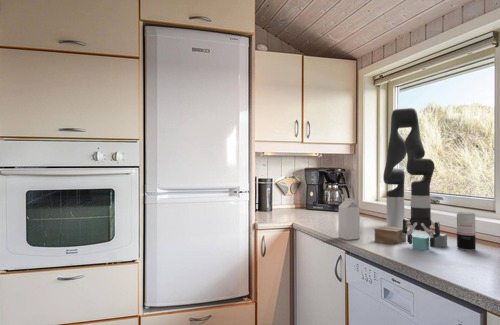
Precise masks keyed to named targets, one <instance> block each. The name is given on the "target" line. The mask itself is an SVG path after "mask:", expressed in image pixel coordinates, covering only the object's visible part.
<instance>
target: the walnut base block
mask: <svg viewBox="0 0 500 325" xmlns="http://www.w3.org/2000/svg"><path fill="white" fill-rule="evenodd" d="M374 242H379V243H384V244H390V245H395V246H396V245H399V244H402V243H406V242H407V234H406V233H403V228H397V227H389V226H387V225H384V226H380V227H379V226H378V227H376V228H374Z"/></svg>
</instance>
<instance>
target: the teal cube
mask: <svg viewBox="0 0 500 325" xmlns="http://www.w3.org/2000/svg"><path fill="white" fill-rule="evenodd" d="M412 249H413V250H417V251H419V250H420V251H425V252H426V251H428V250H429V249H430V236H425V235H414V236H412Z"/></svg>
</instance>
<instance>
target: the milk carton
mask: <svg viewBox="0 0 500 325" xmlns="http://www.w3.org/2000/svg"><path fill="white" fill-rule="evenodd" d="M360 213H361V212H360V206H358V205H357V203H356V202H355V201H354V199H353V198H347V197H345V198H344V201H342V202H341V204H339V205H338V238H340V239H343V240H345V241H349V240H350V241H351V240H360V239H361V237H360V235H361V232H360V228H361V227H360V222H361V221H360V218H361V217H360Z"/></svg>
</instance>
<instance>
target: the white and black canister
mask: <svg viewBox="0 0 500 325" xmlns="http://www.w3.org/2000/svg"><path fill="white" fill-rule="evenodd" d="M475 213H476V212H475ZM475 213H474V212H473V211H472V212H470V211H457V212H456V247H457V249H459V250H463V251H469V252H471V251H475V250H476V249H477V247H476V237H477V236H476V214H475Z"/></svg>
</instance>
